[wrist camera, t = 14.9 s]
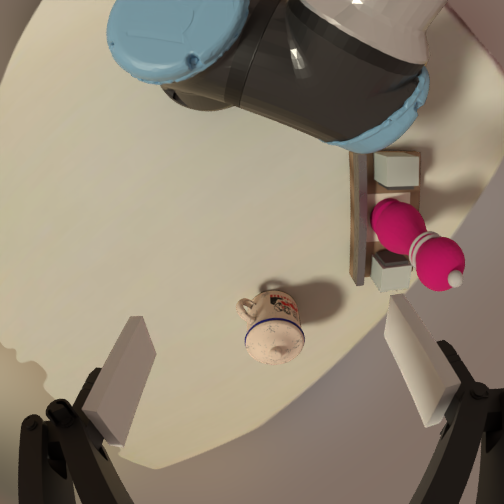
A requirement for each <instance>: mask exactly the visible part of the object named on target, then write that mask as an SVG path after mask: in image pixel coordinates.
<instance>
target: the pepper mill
mask: <svg viewBox="0 0 504 504" xmlns="http://www.w3.org/2000/svg"><path fill="white" fill-rule="evenodd" d="M370 224H371V227H372V229H373V231H374V232H375V233H376V234H377V237H378V240H379V241H380V243H381V244H382V245H383V246H384V247H385V248H386V249H388V250H389V251H391V252H394V253H397V254H405V255H408V256H409V260H410V263H411V265H412V266H413V267H414V268H415V269H416V271H417V275H418V277H419V279H420V281H421V282H422V283H423V284H424V285H425V286H426V287H427V288H429V289H431V290H434V291H445V290H448V289H450V288H452V287H459V286H460V285H461V284H462V282H463V271H464V267H465V258H464V254H463V252H462V250H461V248H460V247H459V246H458V244H457V243H456V242H454V241H453V240H451V239H449V238H446V237H441V236H439V234H437V233H435V232H432V231H427V230H426V226H425V223H424V220H423V218H422V216H421V214H420V213H419V212H418V211H417V209H415V208H414V207H413V206H412V205H410V204H408V203H405V202H400V201H398V200H397V199H393V198H387V199H383V200H381V201H380V202H378V203H377V204H376V206H375V207H374V208H373V210H372V212H371V216H370Z"/></svg>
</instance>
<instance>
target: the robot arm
mask: <svg viewBox="0 0 504 504" xmlns="http://www.w3.org/2000/svg"><path fill="white" fill-rule="evenodd" d="M447 1H448V0H116V2H115V3H114V5H113V7H112V10H111V12H110V15H109V19H108V23H107V43H108V46H109V49H110V51H111V53H112V57H113V58H114V60H115V61H116V62H117V64H118V65H119V66H120V67H121V68H123V69H124V70H125V71H127V72H128V73H130V74H131V76H133V77H134V78H137V79H138V80H139V81H142V82H145V83H148V84H156V85H160V86H161V88H162V89H163V90H164V92H165V93H166V94H167V95H168V96H169V97H170V98H171V99H172V100H173V101H175V102H176V103H178V104H180V105H182V106H184V107H187V108H190V109H194V110H199V111H217V110H222V109H226V108H229V107H232V106H236V107H239V108H241V109H244V110H247V111H250V112H253V113H255V114H258V115H261V116H264V117H266V118H269V119H271V120H274V121H277V122H279V123H282V124H284V125H287V126H289V127H292V128H294V129H297V130H299V131H301V132H304V133H306V134H308V135H311V136H313V137H315V138H318V139H319V140H320V141H322V142H324V143H327V144H329V145H336V146H339V147H342V148H344V149H347V150H349V151H352V152H354V153H360V154H368V153H374V152H377V151H380V150H382V149H384V148H386V147H387V146H389V145H391V144H392V143H394V142H395V141H396V140H397V139H399V138H400V137H401V136H402V135H403V134H404V133H405V132H406V131H407V130H408V129H409V127H410V126H411V125H412V124H413V122H414V121H415V119H416V118H417V116H418V113H417V109H418V108H419V107H421V106H423V105H424V103H425V101H426V98H427V95H428V91H429V83H430V79H429V74H428V71H427V69H426V67H425V66H424V65H425V64H426V63H427V61H428V60H429V58H430V51H429V47H428V43H427V39H426V29H427V28H428V26H429V25H430V24H431V22H432V21H433V20H434V19H435V17H436V16H437V15H438V13H439V12H440V11H441V9H442V8H443V7H444V5H445V4H446V3H447ZM384 337H385V339H386V341H387V343H388V345H389V347H390V350H391V351H392V354H393V356H394V358H395V360H396V362H397V364H398V366H399V368H400V371H401V373H402V374H403V377H404V379H405V382H406V384H407V386H408V388H409V390H410V393H411V395H412V397H413V399H414V402H415V404H416V406H417V409H418V411H419V414H420V416H421V418H422V421H423V423H424V426H425V427H429V426H432V425H435V424H438V423H440V422H441V420H442V418H443V417H444V416H445V418H446V420H447V423H446V424H445V426H444V428H443V429H442V431H441V432H440V435H441V437H440V440H439V442H438V445H437V447H436V449H435V452H434V454H433V456H432V459H431V461H430V463H429V465H428V467H427V470H426V472H425V474H424V476H423V478H422V480H421V482H420V484H419V486H418V488H417V490H416V492H415V494H414V495H413V497H412V499H411V501H410V503H409V504H459V501H460V499H461V496H462V494H463V491H464V489H465V486H466V484H467V481H468V479H469V476H470V473H471V470H472V467H473V464H474V461H475V458H476V455H477V451H478V448H479V445H480V441H481V461H480V474H479V483H478V493H477V499H476V504H504V388H501V389H489V388H488V387H487V386H486V385H485V384H483V383H480V382H475V381H474V379H473V377H472V376H471V374H470V372H469V371H468V369H467V368H466V366H465V365H464V363H463V362H462V361H461V359H460V357H459V355H457V353H456V351H455V349H454V348H453V347H452V345H450V344H449V343H448V342H446V341H445V340H442V341H438V342H436V341H435V339H434V338H433V337H432V335H431V334H430V332H429V330H428V329H427V327H426V326H425V324H424V323H423V321H422V320H421V319H420V317H419V316H418V314H417V313H416V311H415V310H414V308H413V307H412V305H411V304H410V303H409V301H408V300H407V299H406V297H405V296H404V294H396V295H390V301H389V308H388V314H387V320H386V326H385V332H384ZM155 357H156V351H155V349H154V346H153V343H152V341H151V338H150V335H149V333H148V330H147V327H146V324H145V322H144V319H143V316H131V317H130V318H129V320H128V322H127V323H126V325H125V327H124V329H123V330H122V332H121V334H120V336H119V338H118V339H117V341H116V343H115V345H114V347H113V349H112V351H111V352H110V354H109V356H108V358H107V360H106V362H105V364H104V366H103V368H95V369H94V370H93V371H92V372H91V373H90V374H89V376H88V377H87V379H86V381H85V383H84V385H83V387H82V390H81V391H80V393H79V394H78V396H77V398H76V400H75V402H74V404H73V406H71V404H70V403H69V402H68V401H67V400H65V399H57V400H54V401H53V402H51V403H50V404H49V405H48V407H47V409H46V416H47V417H48V418H49V419H50V421H43V420H42V418H41V417H40V416H38V415H36V414H32V415H30V416H28V417H27V418H25V419H24V421H23V422H22V426H21V433H20V446H19V466H18V496H19V504H76V502H75V495H74V487H73V483H74V485H75V488H76V490H77V493H78V495H79V497H80V500H81V502H82V504H134V503H133V501H132V499H131V498H130V496H129V494H128V492H127V491H126V489H125V487H124V485H123V483H122V482H121V480H120V478H119V476H118V474H117V472H116V470H115V468H114V467H113V464H112V462H111V460H110V458H109V456H108V454H107V452H106V450H105V448H104V447H103V445H102V442H103V439H105V440H106V441H107V442H108V444H109V445H112V446H118V447H124V445H125V442H126V439H127V436H128V433H129V430H130V427H131V424H132V421H133V418H134V415H135V412H136V409H137V406H138V403H139V401H140V398H141V395H142V392H143V389H144V387H145V384H146V381H147V378H148V376H149V373H150V370H151V367H152V365H153V362H154V359H155Z"/></svg>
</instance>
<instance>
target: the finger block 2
mask: <svg viewBox="0 0 504 504" xmlns="http://www.w3.org/2000/svg"><path fill="white" fill-rule="evenodd" d="M411 270H412V265H411V264H410V262H409V261H408V260H407V259H406V257H405V256H404V255H403V254H397V253H394V252H391V251H381V252H376V254H372V258H371V273H370V277H371V279H372V280H373V282H374V283H375V285H376V287H377V288H378V290H379V291H380V292H387V291H394V290H401V289H408V288H409V284H410V277H411Z"/></svg>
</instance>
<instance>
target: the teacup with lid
mask: <svg viewBox="0 0 504 504" xmlns="http://www.w3.org/2000/svg"><path fill="white" fill-rule="evenodd" d="M243 305H245V306H247V307H249V308H248V313H247V312H246V310H245V309H244V307H243ZM236 310H237V313H238V314H239V316H240V317H241V318H242V319H243V320H245V321H246V322H247V334H246V337H245V346H246V349H247V351H248V353H249V354H250V355H251V356H252V357H253V358H254V359H255V360H257V361H259V362H261V363H265V364H271V365H277V364H283V363H286V362H288V361H291V360H292V359H294V358H295V357H296V356H297V355H298V354H299V353H300V352H301V350H302V348H303V346H304V342H305V337H304V333H303V331H302V329H301V324H300V319H299V313H298V308H297V304H296V302H295V301H294V299H293V298H292V297H291V296H289V295H288V294H286V293H284V292H281V291H266V292H263V293H261V294H259V295H257V296H256V297H255V298H254V299H253V300H252V301H251V300H249V299H246V298H243V299H241V300H239V301H238V303H237V304H236Z"/></svg>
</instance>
